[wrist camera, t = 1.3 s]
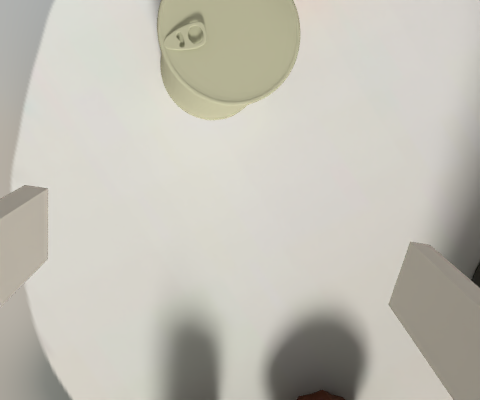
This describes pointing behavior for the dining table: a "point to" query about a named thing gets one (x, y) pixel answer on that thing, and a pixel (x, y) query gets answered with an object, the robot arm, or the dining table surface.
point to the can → (225, 52)
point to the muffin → (320, 396)
